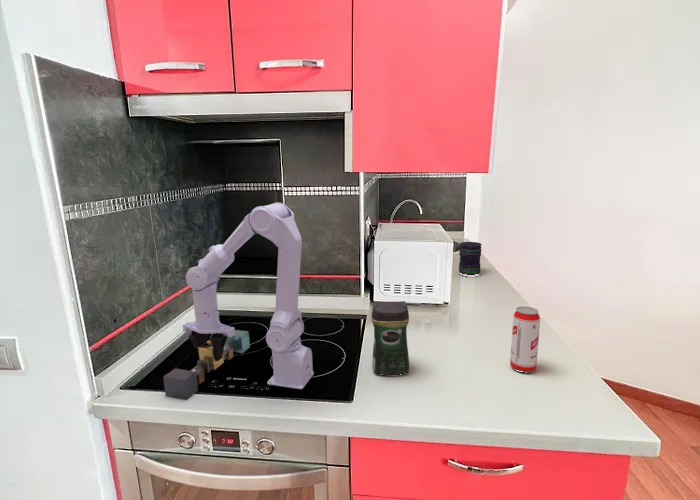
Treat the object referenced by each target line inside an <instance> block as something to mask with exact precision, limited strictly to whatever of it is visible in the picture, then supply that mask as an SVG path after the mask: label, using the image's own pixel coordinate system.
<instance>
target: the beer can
mask: <svg viewBox="0 0 700 500" xmlns="http://www.w3.org/2000/svg"><path fill="white" fill-rule="evenodd" d="M512 317H513V318H512V332H511V347H510V358H509V359H510V360H509V364H510V367H511V366H512V367H513V368H514V369H516V370H519V371H523V372H531V373H533V372H535V371H536V369H537V363H538V362H537V361H538V353H539V352H538V351H539V339H540V338H539V337H540V328H541V327H540V326H541V316H540V315H539V310H538V309H536V308H534V307H531V306H518V307H517V308H515V312H514V313H513V316H512ZM512 367H511V368H512ZM513 368H512V369H513ZM514 369H513V370H514ZM534 370H535V371H534ZM532 371H533V372H532Z"/></svg>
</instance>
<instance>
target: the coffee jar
mask: <svg viewBox="0 0 700 500" xmlns="http://www.w3.org/2000/svg"><path fill="white" fill-rule="evenodd" d="M408 308H409V307H408V304H407V302H406V301H404V300H403V301H401V300H400V301H374V302H373V306H372V309H371V310H372V311H371V315H370V316H371V318H370V319H371V322H372V325H373V348H372V362H371V363H372V370H373V372H374V373H375V374H377V375H378V374H383V375H382V376H385V375H397V376H401V375H400V374H404V375H406V374H408V373H409V372H410V355H409V349H408V337H407V326H408V324H409V321H410V313H409V309H408ZM405 373H406V374H405Z"/></svg>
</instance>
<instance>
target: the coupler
mask: <svg viewBox="0 0 700 500" xmlns="http://www.w3.org/2000/svg"><path fill="white" fill-rule="evenodd" d="M198 349H199V354H198V356H199V357H198V358H199V360H206V361H209V366H210V371H211V370H212V371H216V370H217V369H218V368H219V367H220V366H222V365H223V364H224V361H225V360H224V361H223V356H222V359H220V360H219V361H216V360H215V356H214V349H213V346H212V344H211V342H210V340H207V342H205V343H204V344H202V345H201V346H199V347H198Z"/></svg>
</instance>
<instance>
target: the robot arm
mask: <svg viewBox="0 0 700 500" xmlns="http://www.w3.org/2000/svg"><path fill="white" fill-rule="evenodd" d="M257 234H258V235H260V236H261V237H264V238H265V239H267V240H269V241H270V242H272V243H273V244H274V245H275V246H276V247H277V248H278V249H277V251H278V252H277V268H276V269H277V270H276V288H275V289H276V292H275V310H274V312H273V315H272V317H271V319H270V323H269V324H270V325H269V329H268V330H267V332H266V334H265V342H266V343H267V344H266V345H267V346H268V348H269V349H271V353H272V355H271V357H272V366H273V367H272V369H273V370H272V371H273V375H272V376H271V377H270V379H268V380H267V385H269V386H270V385H271V386H277V387H283V388H290V389H298V390H303V389H304V388H305V387H306V385H307V383H309V381H310V379H311V378H312V377H313V376H314V374H315V372H314V369H313V352H312V349H311V348H310V347H307V346H305V345H303V344H302V341H301V336H302V334H303V332H304V331H305V325H304V322H303V319H302V311H301V310H299V308H298V305H299V293H300V292H299V291H300V279H301V278H300V277H301V264H302V263H301V261H302V245H303V240H302V239H303V238H302V235H301V233H300V231H299V228H298V226H297V223H296V221H295V213H294V212H293V211H292V210H291V209H290V208H289V207H288V206H287V204H284V203H282V202H277V201H276V202H274V203H271V204H268V205H260V206H256V207H255V208H253V209H252V210H251V212H250V213H248V214H247V215H246V216H244V218H243V220H242V221H241V222H240V224H239V225H238V226H237V227H236V228H235V230H234V231H233V232H232V233H231V235H230V236H229V237H228V238H227V239H226V240H225V242H224V243H223V244H220V243H219V244H216V245H211V246H210V247H209V248H208V251H209V252H208V253H207V254H206V255H205V256H204V257H203V258H201V259H199V260H198V265H197V266H192V267H190V268H189V269H188V271H187V272H186V274H185V281H186V284H187V285H188V287H189V288H190V289H191V290H192V300H193V307H194V316H195V321H194V322H192V321H191V322H189V321H186V322H185V323H183V324H182V332H185V333H187V332H191V333H190V334H189V335H188V340H189V341H190V342H191V343H192V345H193V346H194V348H195V349H196V351H197V353H198V355H199V349H198V347H199V346H201V345H202V344H204V343H205V342H207V341H208V335H209V334H211V335H213V336H211V337H210V338H209V341H210V342H211V344H212V346H213V349H214V356H215V360H216V361H219V360H220V359H222V356H223V350H224V346H225V343H226V340H227V338H228V337H232V336H233V335H234V334H235V330H236V329H235V327H234V326H229V325H227V324H223V323H221V321H220V315H219V307H218V297H217V294H218V293H217V289H218V285H217V284H218V282H219V280H220V277H221V274H223V273H224V272H225V270H227V268H229V266H230V265H231V264H233V262H234V261H235V253H236V252H237V251H238V250H239V249H240V248H242V246H243V245H244V244H245V243H247V242H248V240H250V239H251V238H252V237H253V236H254V235H257Z"/></svg>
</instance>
